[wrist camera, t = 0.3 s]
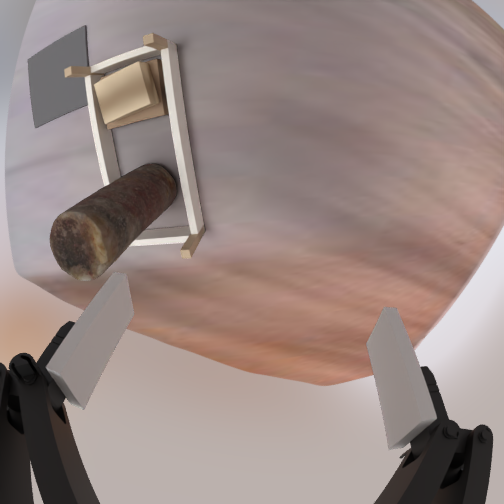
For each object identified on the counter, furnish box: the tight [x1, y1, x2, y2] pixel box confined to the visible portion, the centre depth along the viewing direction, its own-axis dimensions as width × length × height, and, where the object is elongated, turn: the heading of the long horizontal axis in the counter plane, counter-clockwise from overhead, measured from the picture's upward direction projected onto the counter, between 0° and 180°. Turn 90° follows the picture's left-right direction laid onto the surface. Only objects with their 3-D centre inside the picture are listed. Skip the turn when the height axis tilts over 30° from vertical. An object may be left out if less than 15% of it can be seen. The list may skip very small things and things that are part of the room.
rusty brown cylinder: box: [50, 164, 176, 281], centre depth 31 cm, size 8×7×20 cm
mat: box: [28, 25, 89, 128], centre depth 31 cm, size 14×14×1 cm
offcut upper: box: [94, 61, 160, 124], centre depth 30 cm, size 6×7×3 cm
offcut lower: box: [100, 59, 169, 130], centre depth 32 cm, size 8×9×3 cm
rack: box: [64, 33, 205, 262], centre depth 34 cm, size 28×13×8 cm, turn 6°
